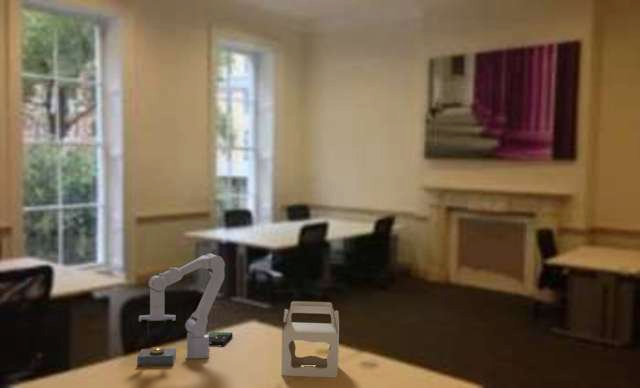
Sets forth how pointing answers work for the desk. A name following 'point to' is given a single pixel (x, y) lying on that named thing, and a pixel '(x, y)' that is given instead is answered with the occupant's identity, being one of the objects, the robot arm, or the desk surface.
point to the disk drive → (219, 338)
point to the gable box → (310, 334)
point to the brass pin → (156, 350)
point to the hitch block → (156, 358)
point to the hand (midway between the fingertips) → (157, 337)
